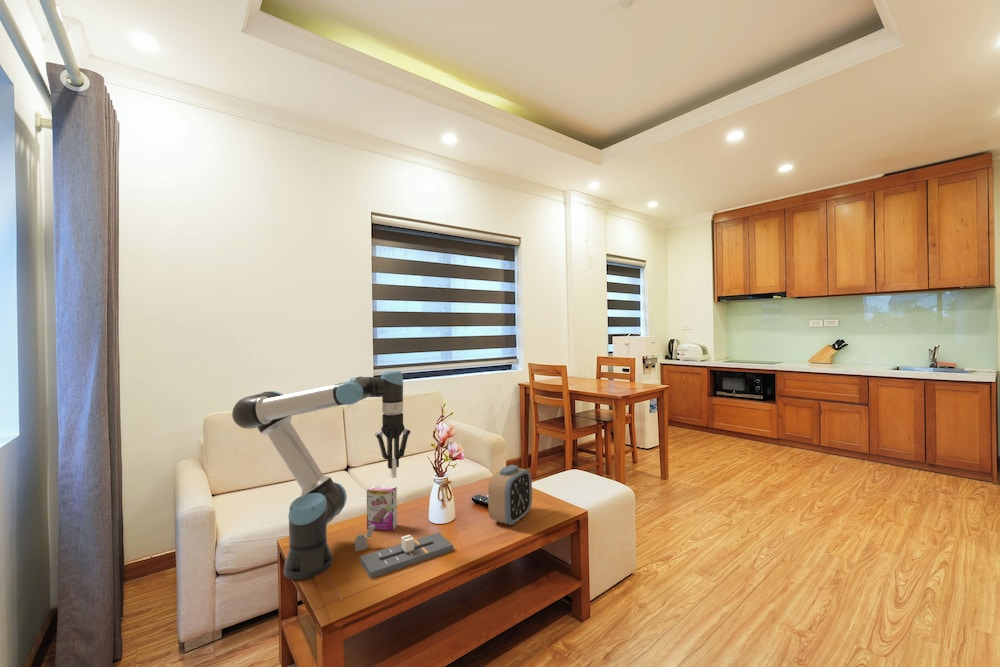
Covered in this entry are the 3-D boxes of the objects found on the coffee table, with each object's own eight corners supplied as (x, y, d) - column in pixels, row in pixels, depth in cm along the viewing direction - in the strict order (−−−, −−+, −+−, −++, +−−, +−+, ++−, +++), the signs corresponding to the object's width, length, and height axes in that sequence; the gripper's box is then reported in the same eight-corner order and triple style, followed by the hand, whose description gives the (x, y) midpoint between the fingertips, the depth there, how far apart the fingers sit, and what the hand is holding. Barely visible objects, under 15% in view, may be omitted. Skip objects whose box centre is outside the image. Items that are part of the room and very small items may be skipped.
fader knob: (405, 558, 147) (405, 541, 147) (401, 553, 150) (400, 536, 150) (414, 555, 149) (414, 538, 149) (409, 550, 152) (409, 533, 152)
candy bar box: (366, 530, 170) (365, 489, 170) (371, 524, 175) (370, 485, 175) (393, 531, 169) (392, 490, 169) (397, 525, 174) (397, 485, 174)
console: (370, 578, 136) (370, 571, 136) (360, 562, 146) (359, 555, 146) (453, 550, 153) (453, 544, 153) (438, 537, 163) (438, 531, 163)
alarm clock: (508, 532, 166) (508, 477, 166) (488, 526, 171) (487, 473, 171) (532, 512, 184) (531, 463, 184) (513, 508, 189) (513, 460, 189)
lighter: (355, 551, 153) (355, 529, 153) (354, 549, 155) (354, 527, 155) (375, 546, 157) (375, 525, 157) (374, 544, 158) (374, 523, 158)
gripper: (377, 416, 150) (378, 482, 150) (413, 412, 157) (413, 476, 157) (372, 413, 156) (373, 476, 156) (406, 409, 163) (407, 470, 163)
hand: (393, 476), depth 156 cm, fingers closed
